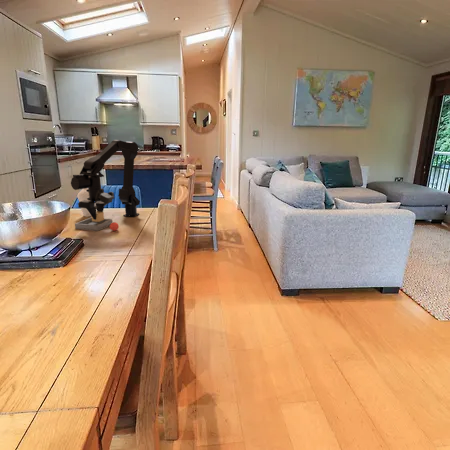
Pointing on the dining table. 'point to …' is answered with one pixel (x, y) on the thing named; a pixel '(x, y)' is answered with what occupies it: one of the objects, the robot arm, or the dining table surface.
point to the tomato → (114, 226)
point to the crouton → (99, 216)
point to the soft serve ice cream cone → (83, 196)
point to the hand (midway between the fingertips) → (97, 218)
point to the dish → (93, 224)
